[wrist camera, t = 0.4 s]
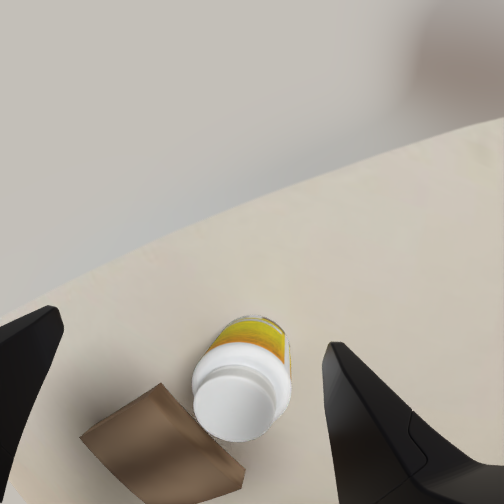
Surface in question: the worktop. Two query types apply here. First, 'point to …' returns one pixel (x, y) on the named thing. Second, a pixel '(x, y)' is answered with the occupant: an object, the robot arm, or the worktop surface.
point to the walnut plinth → (163, 452)
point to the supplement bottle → (243, 380)
